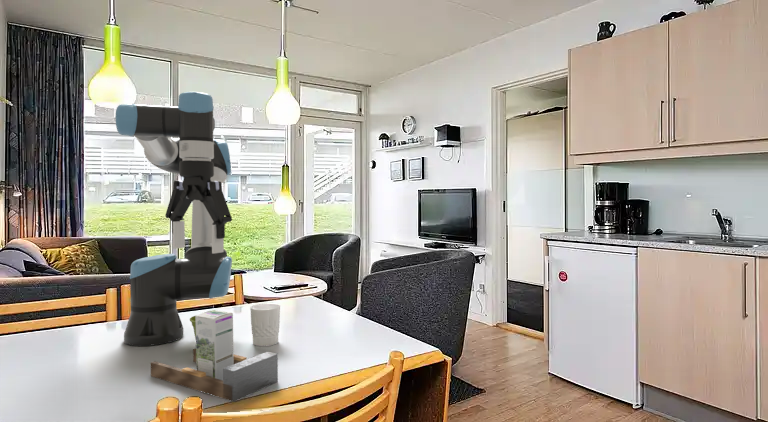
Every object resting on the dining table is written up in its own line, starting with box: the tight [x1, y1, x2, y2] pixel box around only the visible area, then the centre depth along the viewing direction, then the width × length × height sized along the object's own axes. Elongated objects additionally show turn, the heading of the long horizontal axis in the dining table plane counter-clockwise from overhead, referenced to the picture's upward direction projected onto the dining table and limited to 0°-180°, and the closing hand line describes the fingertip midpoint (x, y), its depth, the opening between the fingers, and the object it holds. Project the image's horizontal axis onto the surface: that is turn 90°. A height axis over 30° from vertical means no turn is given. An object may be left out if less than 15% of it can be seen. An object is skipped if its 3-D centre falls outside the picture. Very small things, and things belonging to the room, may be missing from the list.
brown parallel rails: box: [150, 348, 248, 402], centre depth 105 cm, size 26×12×4 cm, turn 59°
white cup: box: [249, 302, 281, 347], centre depth 130 cm, size 8×8×10 cm
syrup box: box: [195, 309, 234, 380], centre depth 104 cm, size 6×6×14 cm
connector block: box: [222, 351, 279, 402], centre depth 98 cm, size 3×12×6 cm, turn 149°
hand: (197, 250), depth 113 cm, fingers open, 13 cm apart
